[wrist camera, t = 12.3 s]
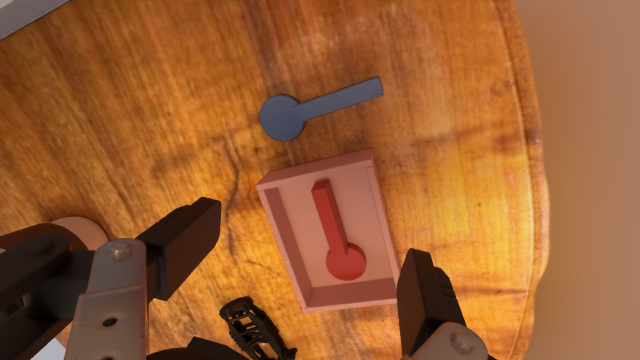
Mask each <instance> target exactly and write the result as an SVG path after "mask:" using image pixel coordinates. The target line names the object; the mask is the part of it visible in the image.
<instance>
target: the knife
mask: <svg viewBox="0 0 640 360" xmlns="http://www.w3.org/2000/svg"><path fill="white" fill-rule="evenodd" d="M241 308H242V310H240V311H238V310H239V309H241ZM249 310H252V311H253V312H254V313H255V315H254V314H253V313H251V312H249ZM236 311H237V312H236ZM233 312H234V313H233ZM244 312H245V313H246V314H243V313H244ZM238 314H239V315H238ZM219 315H220V316H221V317H222V319H224V320H225V321H226V322H227V323H228V326H229V329H230V332H229V334H230V335H231V338H233V339H234V341H236V344H237V345H239V348H241V350H242V351H245V352H246V353H247V354H248V355H249V356H250V358H252V359H253V360H268V358H267V356H266V355H265V354H264V352H263V351H262V350H261V348H260V347H259V346H258V343H269V345H270V346H271V347H272V349H273V350H274V351H275V352H276V354H277V355H278V356H279V357H278V359H277V360H295V354H296V352H297V349H296V348H294V349H291V350H289V351H287V350H286V349H285V347H284V344H283V340H282V339H281V337H280V336H279V335H278V332H279V330H278V329H276V326H274V324H273V323H272V321H271V320H270V319H269V317H267V315H266V314H265V313H264V311H261V310H260V309H259V308H257V307H256V306H254V305H253V302H252V301H251V299H250V298H247V297H245V298H238V299H236V300H234V301H232V302H230V303H228V304H227V305H226V306H224V307H222V309H221V310H220V313H219ZM236 315H238V317H236ZM229 317H232V319H230V320H229V319H228V318H229ZM245 317H249V318H250V319H251V321H252V322H251V323H248V324H246V325H242V324H241V322H240V321H239V320H240V319H242V318H245ZM232 322H233V323H234V325H233V324H232ZM253 325H255V326H256V327H253V328H251V329H248V330H247V329H246V328H247V327H250V326H253ZM256 330H259V332H253V331H256ZM252 335H254V336H256V337H254V338H252ZM261 336H263V337H261ZM260 337H261V338H260ZM264 339H265V340H264ZM280 348H281V349H280ZM253 350H254V351H256V352H257V353H259V354H260V355H261V358H259V357H258V356H257V355H256V353H255V352H254V351H253ZM270 360H273V359H270Z"/></svg>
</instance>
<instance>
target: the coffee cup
mask: <svg viewBox="0 0 640 360" xmlns="http://www.w3.org/2000/svg"><path fill="white" fill-rule="evenodd" d="M50 234H56V235H63V236H66V237H68V238H69V239H70V241H71V247H72V250H97V249H98V248H99V247H100V246H101V245H103V244H105V243H107V242H109V241H108V238H107V236H106V234H105V232H104V231H103V230H102V229H101V228H100V227H99V225H97V224H96V223H94V222H93V221H91V220H90V219H87V218H83V217H67V218H62V219H58V220H55V221H52V222H49V223H43V224H37V225H34V226H31V227H28V228H25V229H22V230H18V231H15V232H12V233H9V234H6V235H3V236H0V253H2V252H4V251H6V250H7V249H9V248H11V247H13V246H15V245H17V244H19V243H20V242H22V241H25V240H27V239H30V238H33V237H37V236H42V235H50ZM22 306H24V301H23V297H20V298H19V299H18V300H16V301H15V302H13V303H12V304H11V305H9V306H8V307H6V308H5V309H4V310H2V311H1V312H0V323H1V322H2V321H3V320H5V319H6V318H7V317H9V316H10V315H12V314H13V313H14V312H16V311H17V310H18V309H20V308H21V307H22Z"/></svg>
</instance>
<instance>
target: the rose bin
mask: <svg viewBox="0 0 640 360" xmlns="http://www.w3.org/2000/svg"><path fill="white" fill-rule="evenodd" d="M326 179H329V181H330V184H331V188H332V191H333V194H334V198H335V201H336V204H337V207H338V211H339V214H340V217H341V220H342V224H343V227H344V230H345V233H346V237H347V240H348V242H349V243H353V244H355V245H357V246H359V247H360V248H361V249H362V250H363V252H364V253H365V256H366V269H365V272H364V273H363V274H362V276H360V277H359V278H358V279H355V280H352V281H343V280H340V279H337V278H335V277H334V276H333V275H331V274H330V272H329V271H328V269H327V267H326V258H327V254H328V251H329V249H330V248H329V245H328V242H327V239H326V236H325V233H324V230H323V227H322V224H321V221H320V218H319V215H318V212H317V208H316V205H315V202H314V199H313V196H312V193H311V189H312V187H313V185H314V183H315V182H317V181H321V180H326ZM256 188H257V191H258V194H259V196H260V199H261V202H262V204H263V207H264V210H265V213H266V215H267V218H268V221H269V223H270V226H271V229H272V231H273V234H274V237H275V239H276V242H277V245H278V247H279V250H280V253H281V255H282V258H283V261H284V263H285V266H286V269H287V271H288V274H289V277H290V279H291V282H292V285H293V287H294V290H295V293H296V295H297V298H298V301H299V303H300V306H301V308H302V311H303V313H310V312H319V311H329V310H338V309H347V308H356V307H366V306H375V305H384V304H393V303H397V296H396V288H397V282H398V278H399V275H400V272H401V269H400V265H399V261H398V256H397V252H396V248H395V244H394V240H393V236H392V231H391V227H390V223H389V219H388V215H387V210H386V206H385V202H384V198H383V194H382V189H381V185H380V181H379V177H378V173H377V168H376V164H375V160H374V156H373V152H372V148H369V149H365V150H360V151H356V152H352V153H348V154H344V155H339V156H335V157H331V158H327V159H322V160H318V161H314V162H310V163H306V164H301V165H297V166H293V167H289V168H284V169H280V170H276V171H272V172H268V173H267V174H266V175H265V176H264V177H263V178H262V179H261V180H260V181H259V182H258V183H257V184H256Z"/></svg>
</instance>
